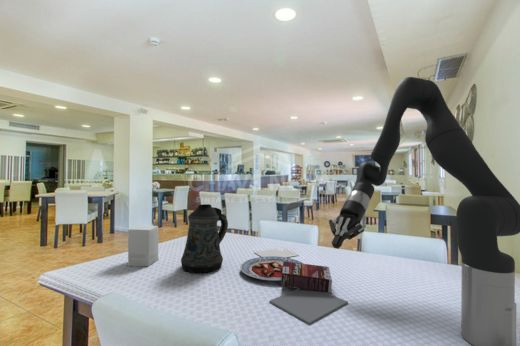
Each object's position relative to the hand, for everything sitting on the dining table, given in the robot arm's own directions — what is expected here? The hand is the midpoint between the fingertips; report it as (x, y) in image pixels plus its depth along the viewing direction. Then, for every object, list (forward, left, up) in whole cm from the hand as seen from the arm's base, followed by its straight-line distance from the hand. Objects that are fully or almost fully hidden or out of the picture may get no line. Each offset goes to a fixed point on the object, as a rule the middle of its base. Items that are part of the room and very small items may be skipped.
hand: (335, 246), depth 86 cm
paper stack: (+45, -18, -15) cm, 51 cm away
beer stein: (+48, +21, -15) cm, 55 cm away
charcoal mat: (+1, +12, -14) cm, 19 cm away
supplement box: (+2, -1, -11) cm, 11 cm away
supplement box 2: (+67, +39, -15) cm, 79 cm away
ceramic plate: (+25, +3, -15) cm, 30 cm away
